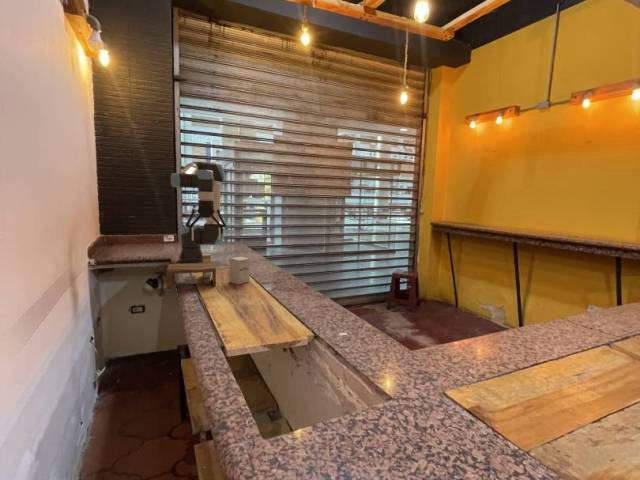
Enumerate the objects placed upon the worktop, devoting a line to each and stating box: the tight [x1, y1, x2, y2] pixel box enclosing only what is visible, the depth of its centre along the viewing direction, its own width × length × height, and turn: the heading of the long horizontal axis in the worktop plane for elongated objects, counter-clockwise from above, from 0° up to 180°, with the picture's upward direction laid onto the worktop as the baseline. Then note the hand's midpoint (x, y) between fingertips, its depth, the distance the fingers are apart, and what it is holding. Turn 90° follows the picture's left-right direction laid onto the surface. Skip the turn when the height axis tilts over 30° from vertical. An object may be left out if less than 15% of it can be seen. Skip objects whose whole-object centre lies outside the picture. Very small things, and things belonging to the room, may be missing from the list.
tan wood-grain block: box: [202, 253, 212, 285], centre depth 174 cm, size 17×4×12 cm, turn 19°
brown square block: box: [184, 275, 197, 285], centre depth 168 cm, size 5×5×3 cm
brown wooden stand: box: [165, 262, 217, 290], centre depth 165 cm, size 14×22×9 cm, turn 109°
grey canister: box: [229, 256, 250, 285], centre depth 172 cm, size 7×7×13 cm
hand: (206, 240), depth 177 cm, fingers open, 13 cm apart
